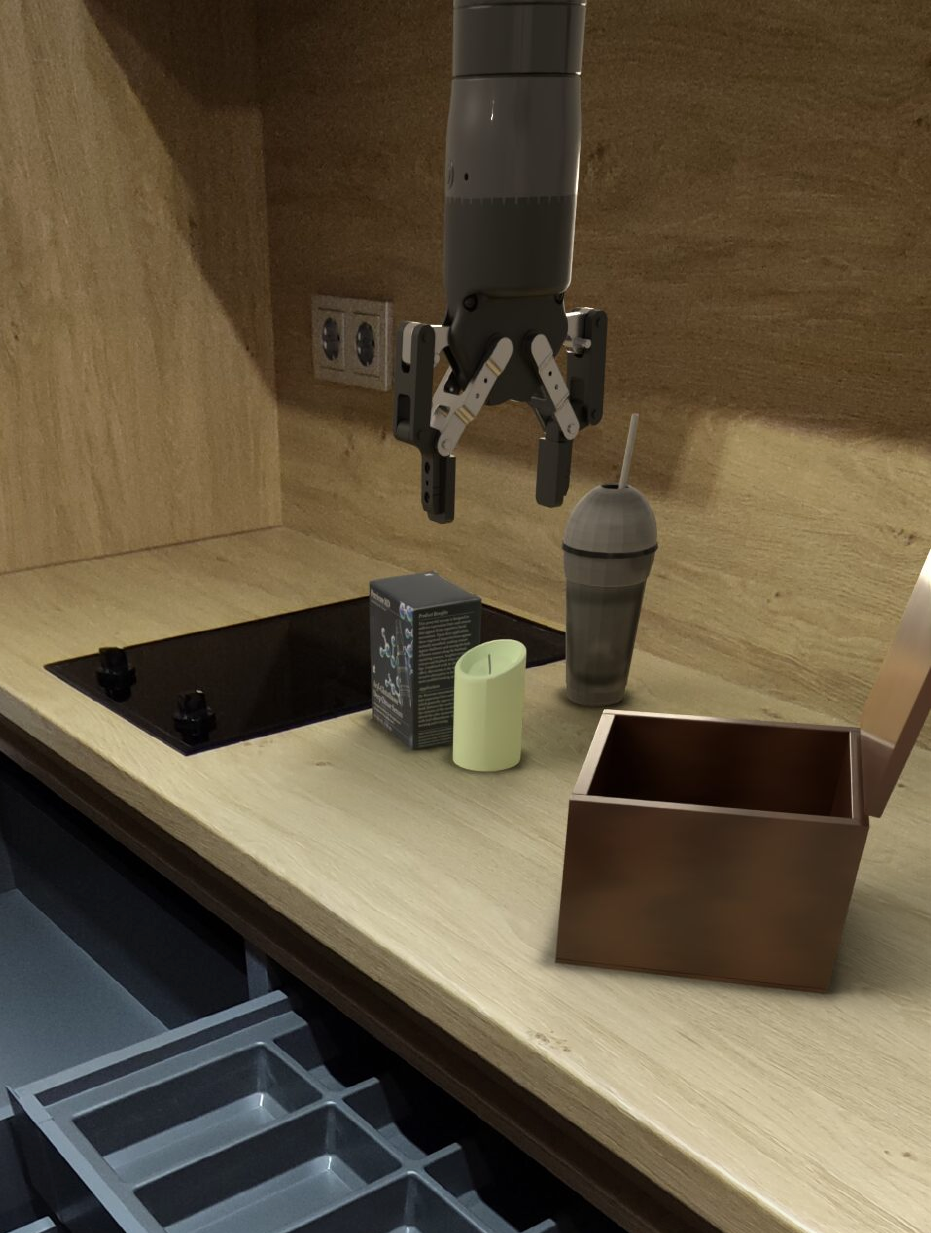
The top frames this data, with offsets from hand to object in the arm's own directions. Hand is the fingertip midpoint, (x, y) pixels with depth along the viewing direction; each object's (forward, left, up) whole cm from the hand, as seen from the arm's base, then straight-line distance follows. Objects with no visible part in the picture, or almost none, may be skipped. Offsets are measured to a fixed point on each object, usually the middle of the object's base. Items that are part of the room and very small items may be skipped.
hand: (495, 513), depth 81 cm
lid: (-25, +22, +1) cm, 33 cm away
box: (+6, -5, -17) cm, 18 cm away
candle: (0, 0, -17) cm, 17 cm away
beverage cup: (-6, -15, -17) cm, 23 cm away
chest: (-17, +22, -17) cm, 32 cm away
